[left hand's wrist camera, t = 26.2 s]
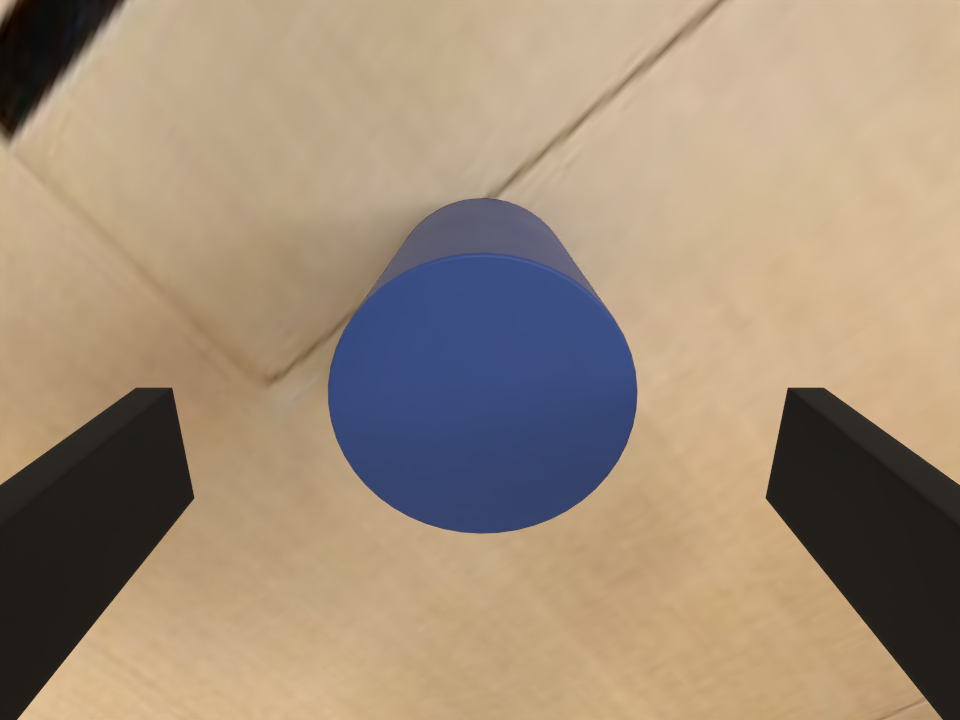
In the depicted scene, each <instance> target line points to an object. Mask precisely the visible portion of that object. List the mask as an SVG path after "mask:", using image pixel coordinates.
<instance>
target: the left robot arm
mask: <svg viewBox="0 0 960 720" xmlns="http://www.w3.org/2000/svg"><path fill="white" fill-rule="evenodd" d="M193 499H194V494H193V489H192V484H191V479H190V474H189V469H188V464H187V459H186V454H185V449H184V444H183V439H182V434H181V429H180V424H179V419H178V415H177V410H176V405H175V400H174V395H173V390H172V388H135V389H134V390H132V391H131V392H130V393H128V394H127V395H125V396H124V397H123V398H121V399H120V400H118V401H117V402H116V403H114V404H113V405H111V406H110V407H109V408H107V409H106V410H105V411H103V412H102V413H100V414H99V415H98V416H96V417H95V418H93V419H92V420H91V421H89V422H88V423H86V424H85V425H84V426H82V427H81V428H79V429H78V430H77V431H75V432H74V433H72V434H71V435H70V436H68V437H67V438H65V439H64V440H63V441H61V442H60V443H59V444H57V445H56V446H54V447H53V448H52V449H50V450H49V451H47V452H46V453H45V454H43V455H42V456H40V457H39V458H38V459H36V460H35V461H33V462H32V463H31V464H29V465H28V466H26V467H25V468H24V469H22V470H21V471H19V472H18V473H17V474H15V475H14V476H13V477H11V478H10V479H8V480H7V481H6V482H4V483H3V484H1V485H0V720H17V719H18V718H19V717H20V715H21V714H22V713H23V712H24V710H25V709H26V708H27V707H28V705H29V704H30V703H31V702H32V700H33V699H34V698H35V697H36V695H37V694H38V693H39V692H40V690H41V689H42V688H43V687H44V685H45V684H46V683H47V682H48V680H49V679H50V678H51V677H52V675H53V674H54V673H55V672H56V670H57V669H58V668H59V667H60V665H61V664H62V663H63V662H64V660H65V659H66V658H67V657H68V655H69V654H70V653H71V652H72V650H73V649H74V648H75V647H76V645H77V644H78V643H79V642H80V640H81V639H82V638H83V637H84V635H85V634H86V633H87V632H88V630H89V629H90V628H91V627H92V625H93V624H94V623H95V622H96V620H97V619H98V618H99V617H100V615H101V614H102V613H103V612H104V610H105V609H106V608H107V607H108V605H109V604H110V603H111V602H112V600H113V599H114V598H115V597H116V595H117V594H118V593H119V592H120V590H121V589H122V588H123V587H124V585H125V584H126V583H127V582H128V580H129V579H130V578H131V577H132V575H133V574H134V573H135V572H136V570H137V569H138V568H139V567H140V565H141V564H142V563H143V562H144V560H145V559H146V558H147V557H148V555H149V554H150V553H151V552H152V550H153V549H154V548H155V547H156V545H157V544H158V543H159V542H160V540H161V539H162V538H163V537H164V535H165V534H166V533H167V532H168V530H169V529H170V528H171V527H172V525H173V524H174V523H175V522H176V520H177V519H178V518H179V517H180V515H181V514H182V513H183V512H184V510H185V509H186V508H187V507H188V505H189V504H190V503H191V502H192V500H193ZM766 499H767V500H768V502H769V503H770V504H771V505H772V507H773V508H774V509H775V510H776V512H777V513H778V514H779V515H780V517H781V518H782V519H783V520H784V522H785V523H786V524H787V525H788V527H789V528H790V529H791V530H792V532H793V533H794V534H795V535H796V537H797V538H798V539H799V540H800V542H801V543H802V544H803V545H804V547H805V548H806V549H807V550H808V552H809V553H810V554H811V555H812V557H813V558H814V559H815V560H816V562H817V563H818V564H819V565H820V567H821V568H822V569H823V570H824V572H825V573H826V574H827V575H828V577H829V578H830V579H831V580H832V582H833V583H834V584H835V585H836V587H837V588H838V589H839V590H840V592H841V593H842V594H843V595H844V597H845V598H846V599H847V600H848V602H849V603H850V604H851V605H852V607H853V608H854V609H855V610H856V612H857V613H858V614H859V615H860V617H861V618H862V619H863V620H864V622H865V623H866V624H867V625H868V627H869V628H870V629H871V630H872V632H873V633H874V634H875V635H876V637H877V638H878V639H879V640H880V642H881V643H882V644H883V645H884V647H885V648H886V649H887V650H888V652H889V653H890V654H891V655H892V657H893V658H894V659H895V660H896V662H897V663H898V664H899V665H900V667H901V668H902V669H903V670H904V672H905V673H906V674H907V675H908V677H909V678H910V679H911V680H912V682H913V683H914V684H915V685H916V687H917V688H918V689H919V690H920V692H921V693H922V694H923V695H924V697H925V698H926V699H927V700H928V702H929V703H930V704H931V705H932V707H933V708H934V709H935V710H936V712H937V713H938V714H939V715H940V717H941V718H942V719H943V720H960V485H959V484H957V483H956V482H954V481H953V480H952V479H950V478H949V477H947V476H946V475H945V474H943V473H942V472H941V471H939V470H938V469H936V468H935V467H934V466H932V465H931V464H929V463H928V462H927V461H925V460H924V459H922V458H921V457H920V456H918V455H917V454H915V453H914V452H913V451H911V450H910V449H908V448H907V447H906V446H904V445H903V444H901V443H900V442H899V441H897V440H896V439H895V438H893V437H892V436H890V435H889V434H888V433H886V432H885V431H883V430H882V429H881V428H879V427H878V426H876V425H875V424H874V423H872V422H871V421H869V420H868V419H867V418H865V417H864V416H862V415H861V414H860V413H858V412H857V411H855V410H854V409H853V408H851V407H850V406H849V405H847V404H846V403H844V402H843V401H842V400H840V399H839V398H837V397H836V396H835V395H833V394H832V393H830V392H829V391H828V390H826V389H825V388H788V390H787V395H786V400H785V405H784V410H783V414H782V419H781V424H780V429H779V434H778V439H777V444H776V449H775V454H774V459H773V464H772V469H771V474H770V479H769V484H768V489H767V494H766Z"/></svg>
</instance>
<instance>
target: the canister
mask: <svg viewBox="0 0 960 720" xmlns="http://www.w3.org/2000/svg"><path fill="white" fill-rule="evenodd" d="M328 404H329V411H330V417H331V422H332V426H333V429H334V432H335V435H336V439H337V441H338V443H339V445H340V447H341V450H342V452H343V454H344V456H345V458H346V459H347V461H348V462H349V464H350V465H351V467H352V469H353V470H354V472H355V473H356V474H357V475H358V476H359V478H360V479H361V480H362V481H363V482H364V484H365V485H366V486H367V487H368V488H370V489H371V490H372V491H373V492H374V493H375V494H376V495H377V496H378V497H379V498H381V499H382V500H383V501H385V502H386V503H388V504H389V505H390V506H392V507H393V508H395V509H396V510H398V511H400V512H402V513H404V514H405V515H407V516H409V517H411V518H414V519H416V520H418V521H421V522H423V523H425V524H429V525H432V526H435V527H439V528H442V529H447V530H452V531H458V532H466V533H500V532H507V531H514V530H519V529H523V528H526V527H530V526H534V525H537V524H539V523H542V522H545V521H547V520H550V519H552V518H554V517H556V516H558V515H560V514H562V513H564V512H566V511H567V510H569V509H570V508H572V507H573V506H575V505H576V504H578V503H579V502H581V501H582V500H583V499H585V498H586V497H587V496H588V495H589V494H590V493H591V492H593V491H594V490H595V489H596V488H597V487H598V486H599V485H600V484H601V482H602V481H603V480H604V479H605V478H606V477H607V476H608V475H609V473H610V472H611V470H612V469H613V467H614V466H615V464H616V463H617V462H618V460H619V458H620V456H621V454H622V452H623V450H624V448H625V446H626V444H627V442H628V439H629V436H630V433H631V430H632V427H633V423H634V418H635V413H636V406H637V381H636V371H635V367H634V363H633V359H632V355H631V352H630V349H629V347H628V344H627V342H626V339H625V337H624V335H623V333H622V331H621V330H620V328H619V326H618V324H617V323H616V321H615V319H614V318H613V316H612V315H611V313H610V312H609V311H608V309H607V308H606V306H605V305H604V304H603V302H602V301H601V299H600V298H599V296H598V295H597V294H596V292H595V291H594V289H593V288H592V286H591V285H590V284H589V282H588V281H587V279H586V278H585V276H584V275H583V274H582V272H581V271H580V269H579V268H578V266H577V265H576V264H575V262H574V261H573V259H572V258H571V257H570V255H569V254H568V252H567V251H566V249H565V248H564V247H563V245H562V244H561V242H560V241H559V239H558V238H557V237H556V235H555V234H554V233H553V232H552V230H551V229H550V228H549V227H548V226H547V225H546V224H545V223H544V222H543V221H542V220H541V219H540V218H538V217H537V216H535V215H534V214H533V213H531V212H530V211H528V210H526V209H524V208H522V207H520V206H518V205H515V204H512V203H510V202H506V201H501V200H497V199H486V198H481V199H469V200H464V201H459V202H456V203H453V204H450V205H447V206H445V207H443V208H441V209H439V210H437V211H435V212H434V213H432V214H431V215H429V216H428V217H427V218H425V219H424V220H423V221H422V222H421V223H420V224H419V225H418V226H417V227H416V228H415V229H414V230H413V231H412V233H411V234H410V235H409V237H408V238H407V239H406V241H405V242H404V244H403V245H402V247H401V248H400V249H399V251H398V252H397V254H396V255H395V257H394V258H393V259H392V261H391V262H390V264H389V265H388V267H387V268H386V269H385V271H384V272H383V274H382V275H381V277H380V278H379V280H378V281H377V282H376V284H375V285H374V287H373V288H372V290H371V291H370V292H369V294H368V295H367V297H366V298H365V300H364V301H363V302H362V304H361V305H360V307H359V308H358V310H357V311H356V312H355V314H354V315H353V317H352V319H351V320H350V322H349V323H348V325H347V326H346V328H345V330H344V331H343V333H342V336H341V338H340V340H339V342H338V345H337V347H336V349H335V353H334V356H333V360H332V363H331V367H330V374H329V382H328Z"/></svg>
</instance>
